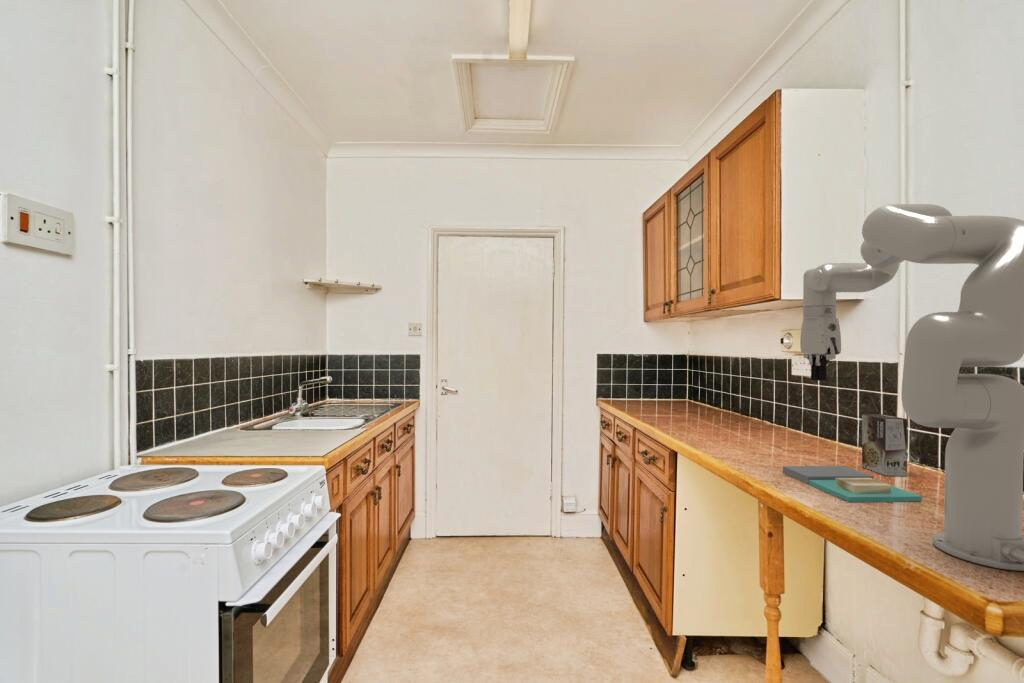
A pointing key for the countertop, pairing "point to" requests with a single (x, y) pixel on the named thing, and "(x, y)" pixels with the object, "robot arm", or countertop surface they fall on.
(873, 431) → the coffee box
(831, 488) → the mat
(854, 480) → the tile
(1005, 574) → the countertop surface
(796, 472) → the board
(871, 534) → the countertop surface
